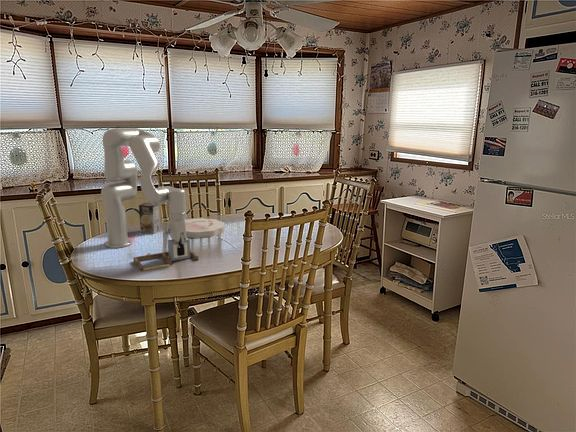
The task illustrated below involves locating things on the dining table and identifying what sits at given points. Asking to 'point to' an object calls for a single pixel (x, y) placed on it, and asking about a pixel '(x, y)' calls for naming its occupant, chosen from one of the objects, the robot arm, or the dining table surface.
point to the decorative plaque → (203, 227)
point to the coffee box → (149, 218)
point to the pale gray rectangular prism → (173, 250)
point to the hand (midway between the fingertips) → (179, 253)
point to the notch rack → (158, 255)
